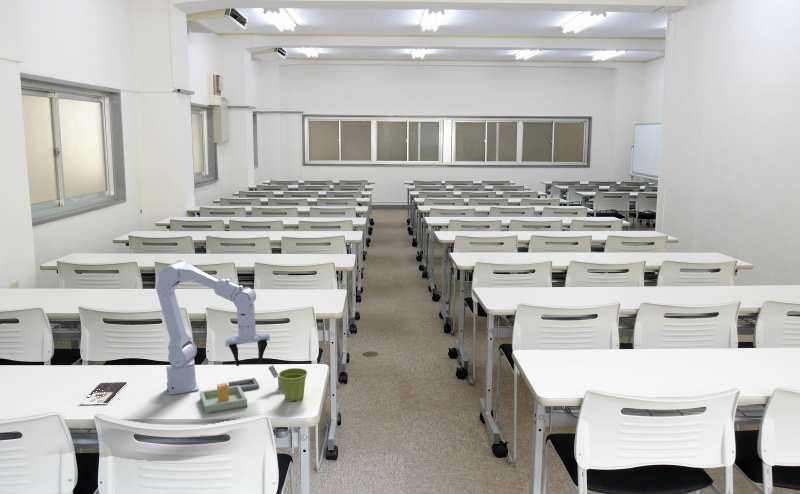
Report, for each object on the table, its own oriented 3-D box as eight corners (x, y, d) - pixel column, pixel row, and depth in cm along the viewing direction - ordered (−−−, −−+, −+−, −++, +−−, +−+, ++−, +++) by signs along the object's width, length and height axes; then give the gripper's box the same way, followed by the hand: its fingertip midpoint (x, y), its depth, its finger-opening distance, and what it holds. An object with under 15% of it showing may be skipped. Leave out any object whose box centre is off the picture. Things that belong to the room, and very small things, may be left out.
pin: (219, 403, 222) (218, 387, 221) (218, 400, 225) (216, 384, 224) (228, 402, 223) (227, 386, 222) (227, 398, 226) (226, 382, 225)
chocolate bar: (126, 382, 242) (106, 402, 224) (126, 384, 242) (107, 405, 224) (100, 382, 242) (79, 403, 224) (100, 385, 242) (79, 406, 224)
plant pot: (295, 406, 221) (294, 380, 219) (273, 400, 226) (272, 375, 224) (314, 396, 229) (313, 371, 227) (292, 390, 233) (291, 366, 232)
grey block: (291, 386, 237) (289, 364, 236) (290, 388, 236) (289, 365, 234) (270, 386, 237) (269, 364, 235) (269, 388, 235) (268, 366, 234)
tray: (205, 414, 216) (205, 406, 215) (200, 399, 227) (199, 391, 227) (247, 406, 221) (246, 399, 220) (239, 392, 232) (239, 385, 232)
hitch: (231, 392, 232) (231, 389, 232) (228, 385, 239) (228, 382, 238) (259, 388, 236) (258, 384, 236) (255, 381, 242) (254, 377, 242)
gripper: (226, 330, 223) (229, 370, 225) (270, 325, 228) (272, 363, 231) (222, 325, 229) (225, 363, 231) (266, 319, 234) (268, 357, 237)
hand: (248, 363), depth 231 cm, fingers open, 7 cm apart
